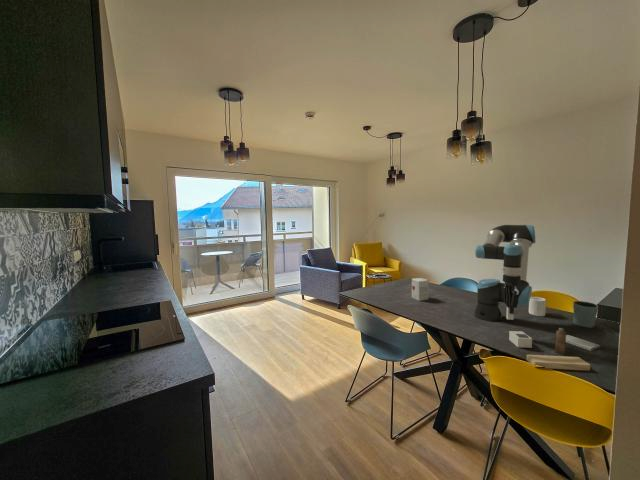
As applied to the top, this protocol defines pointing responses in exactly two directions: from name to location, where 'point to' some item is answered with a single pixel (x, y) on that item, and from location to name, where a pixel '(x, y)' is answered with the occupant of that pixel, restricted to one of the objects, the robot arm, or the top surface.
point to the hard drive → (581, 343)
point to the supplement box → (420, 289)
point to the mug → (537, 306)
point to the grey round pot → (584, 313)
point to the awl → (560, 341)
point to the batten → (559, 362)
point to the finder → (520, 339)
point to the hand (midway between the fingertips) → (509, 318)
